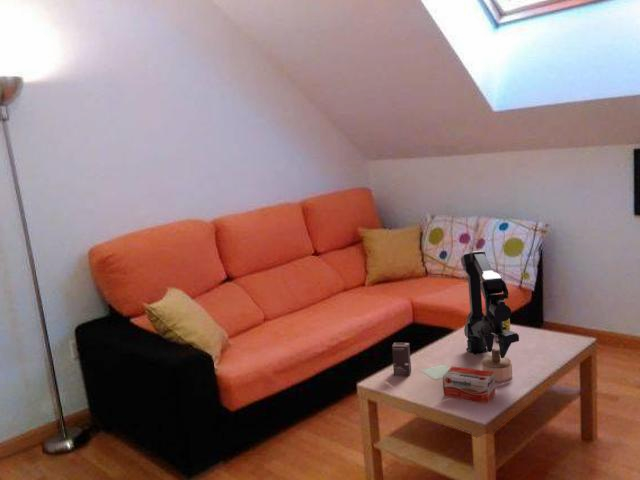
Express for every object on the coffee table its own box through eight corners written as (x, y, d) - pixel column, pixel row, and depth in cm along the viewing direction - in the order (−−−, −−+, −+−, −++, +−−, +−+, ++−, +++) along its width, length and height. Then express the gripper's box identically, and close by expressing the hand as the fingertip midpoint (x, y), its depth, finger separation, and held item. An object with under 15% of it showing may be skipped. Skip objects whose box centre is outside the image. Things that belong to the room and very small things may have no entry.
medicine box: (443, 397, 198) (442, 374, 196) (452, 387, 204) (450, 365, 203) (488, 404, 189) (487, 381, 188) (495, 394, 196) (494, 371, 195)
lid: (498, 355, 214) (498, 343, 214) (516, 364, 205) (515, 351, 205) (476, 361, 211) (476, 348, 210) (493, 370, 202) (492, 357, 201)
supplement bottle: (494, 337, 247) (493, 308, 244) (493, 332, 253) (491, 303, 251) (511, 336, 245) (510, 307, 243) (509, 331, 252) (507, 302, 250)
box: (393, 377, 217) (391, 346, 215) (396, 372, 222) (393, 341, 219) (410, 377, 215) (407, 346, 213) (412, 372, 220) (409, 342, 218)
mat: (443, 365, 223) (443, 364, 223) (458, 374, 214) (458, 373, 214) (420, 371, 220) (420, 370, 220) (435, 380, 211) (435, 379, 211)
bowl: (499, 368, 215) (499, 355, 215) (518, 377, 206) (517, 364, 205) (476, 374, 212) (476, 361, 211) (494, 384, 203) (493, 370, 202)
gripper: (458, 310, 211) (461, 351, 214) (491, 324, 194) (494, 368, 196) (484, 304, 215) (486, 345, 217) (519, 317, 198) (521, 361, 200)
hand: (496, 354), depth 208 cm, fingers open, 7 cm apart
